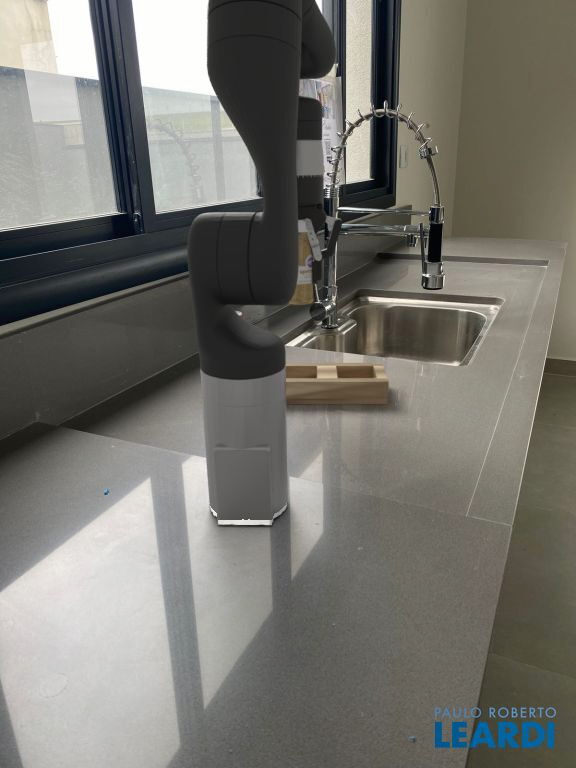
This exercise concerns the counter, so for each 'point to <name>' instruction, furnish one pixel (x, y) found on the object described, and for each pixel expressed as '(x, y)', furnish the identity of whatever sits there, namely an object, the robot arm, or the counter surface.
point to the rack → (336, 383)
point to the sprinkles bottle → (304, 269)
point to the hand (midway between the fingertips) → (300, 282)
